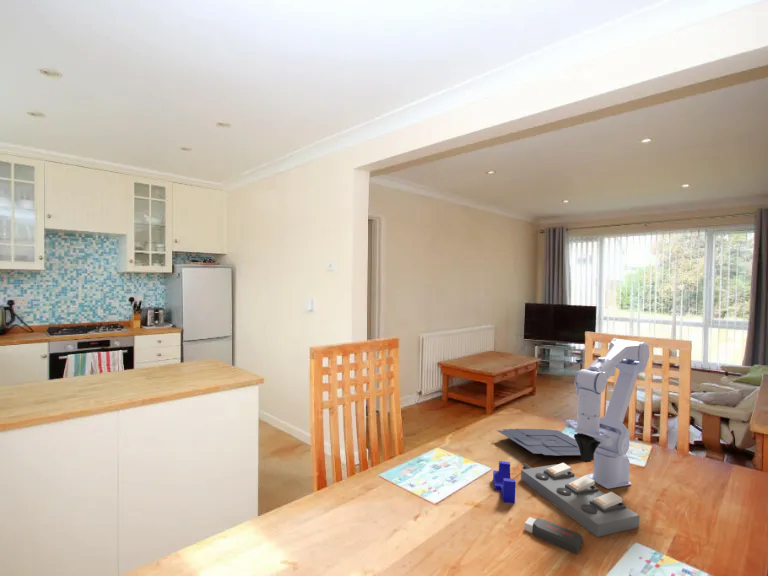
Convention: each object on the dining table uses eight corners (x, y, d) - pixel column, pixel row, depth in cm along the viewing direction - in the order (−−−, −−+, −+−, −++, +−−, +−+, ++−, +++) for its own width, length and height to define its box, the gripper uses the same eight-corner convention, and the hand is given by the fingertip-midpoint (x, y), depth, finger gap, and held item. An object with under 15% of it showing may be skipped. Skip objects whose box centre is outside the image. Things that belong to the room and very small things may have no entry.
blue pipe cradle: (493, 480, 122) (493, 460, 122) (508, 481, 121) (509, 461, 121) (497, 502, 110) (498, 480, 110) (514, 504, 109) (515, 482, 109)
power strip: (540, 463, 133) (540, 452, 133) (638, 527, 100) (639, 512, 100) (506, 468, 129) (506, 457, 129) (597, 537, 96) (597, 521, 96)
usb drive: (576, 556, 90) (577, 543, 89) (522, 532, 97) (523, 521, 97) (583, 544, 94) (583, 532, 93) (530, 523, 101) (531, 512, 101)
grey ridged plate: (492, 435, 153) (493, 426, 153) (556, 436, 163) (557, 427, 163) (536, 464, 130) (537, 453, 130) (607, 463, 140) (609, 453, 140)
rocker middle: (585, 478, 114) (585, 474, 114) (595, 484, 111) (594, 480, 111) (569, 487, 112) (568, 483, 112) (578, 492, 109) (577, 489, 109)
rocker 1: (563, 465, 122) (563, 462, 122) (571, 470, 119) (571, 467, 119) (547, 471, 120) (546, 468, 120) (555, 476, 117) (554, 473, 117)
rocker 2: (611, 495, 106) (611, 491, 106) (622, 501, 103) (622, 497, 103) (593, 502, 104) (593, 498, 104) (604, 509, 101) (603, 505, 101)
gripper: (558, 406, 120) (556, 451, 120) (598, 423, 106) (596, 475, 106) (577, 404, 122) (575, 449, 122) (619, 421, 108) (617, 471, 109)
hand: (586, 461), depth 115 cm, fingers closed
